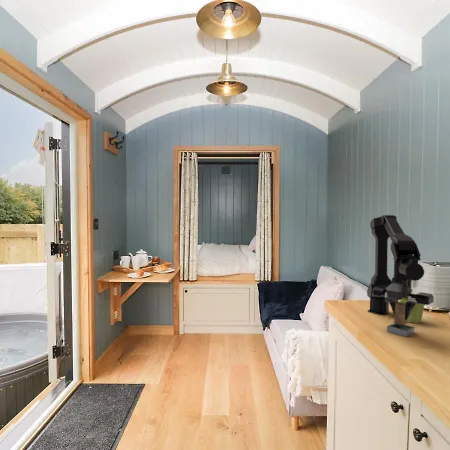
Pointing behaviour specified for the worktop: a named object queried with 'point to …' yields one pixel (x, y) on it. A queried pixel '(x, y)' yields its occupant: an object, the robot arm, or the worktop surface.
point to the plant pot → (415, 312)
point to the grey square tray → (400, 329)
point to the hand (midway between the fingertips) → (401, 318)
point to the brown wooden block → (400, 313)
